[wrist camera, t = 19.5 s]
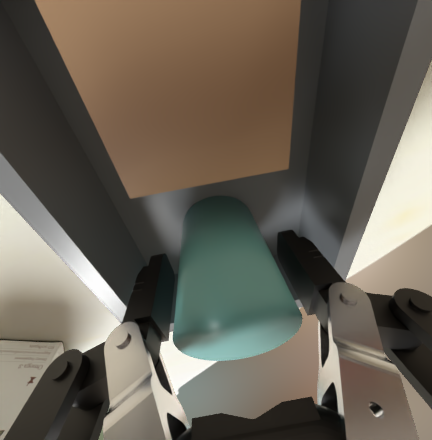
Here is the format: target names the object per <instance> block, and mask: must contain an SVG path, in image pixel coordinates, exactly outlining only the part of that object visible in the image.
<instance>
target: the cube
mask: <svg viewBox="0 0 432 440" xmlns="http://www.w3.org/2000/svg"><path fill="white" fill-rule="evenodd" d="M35 2H36V4H37V6H38V9H39V11H40V13H41V15H42V17H43V19H44V21H45V23H46V25H47V27H48V29H49V31H50V33H51V36H52V38H53V40H54V42H55V44H56V46H57V48H58V50H59V52H60V54H61V56H62V58H63V60H64V62H65V65H66V67H67V69H68V71H69V73H70V75H71V77H72V79H73V81H74V83H75V85H76V87H77V89H78V92H79V94H80V96H81V98H82V100H83V102H84V104H85V106H86V108H87V110H88V112H89V114H90V116H91V119H92V121H93V123H94V125H95V127H96V129H97V131H98V133H99V135H100V137H101V139H102V141H103V143H104V146H105V148H106V150H107V152H108V154H109V156H110V158H111V160H112V162H113V164H114V166H115V168H116V170H117V173H118V175H119V177H120V179H121V181H122V183H123V185H124V187H125V189H126V191H127V193H128V195H129V197H130V199H132V198H137V197H142V196H147V195H153V194H158V193H163V192H169V191H174V190H179V189H185V188H190V187H195V186H200V185H206V184H211V183H216V182H222V181H227V180H232V179H238V178H243V177H248V176H253V175H259V174H264V173H269V172H275V171H280V170H285V169H289V157H290V143H291V130H292V116H293V102H294V89H295V75H296V62H297V48H298V34H299V21H300V7H301V0H35Z"/></svg>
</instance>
